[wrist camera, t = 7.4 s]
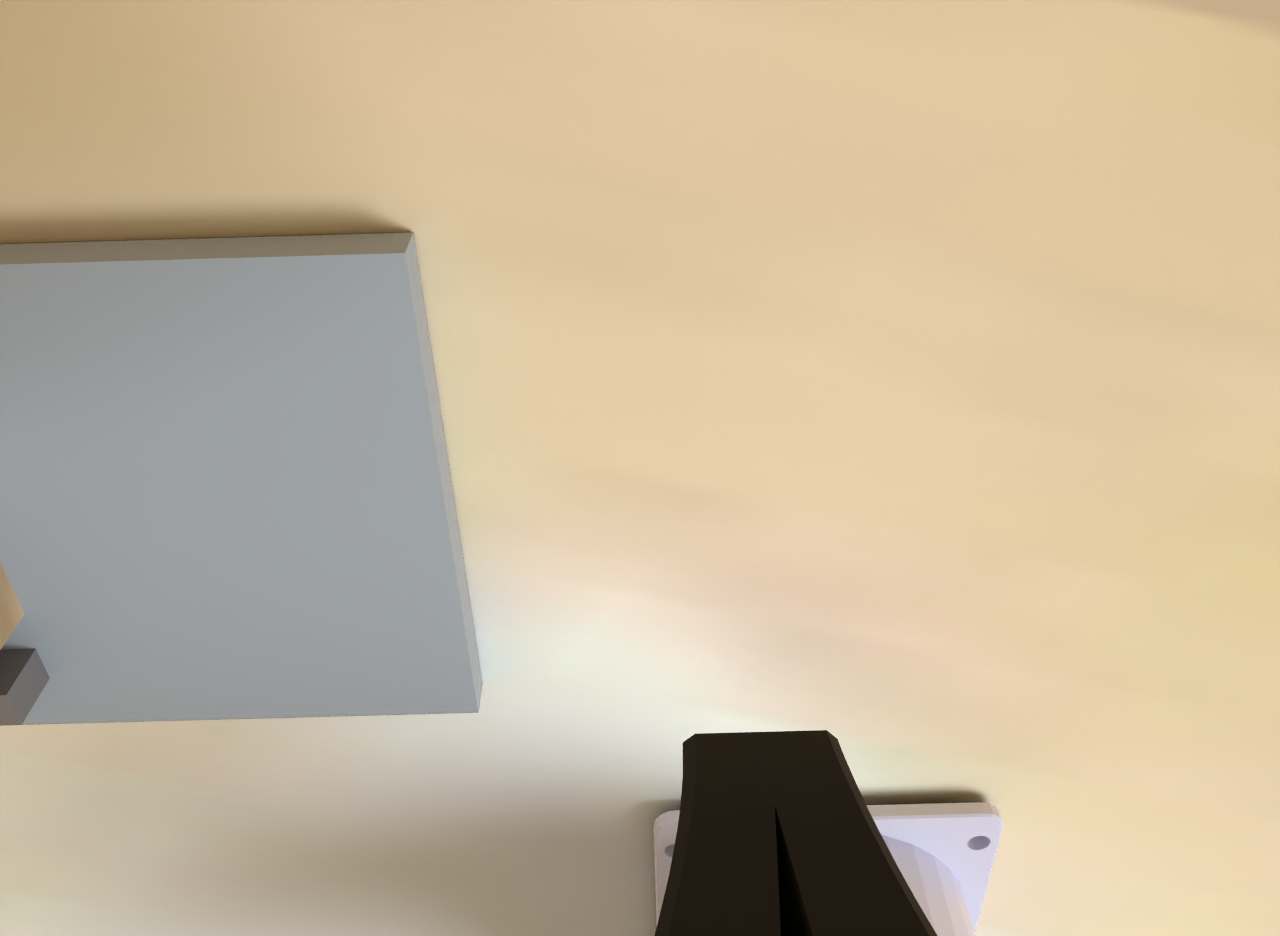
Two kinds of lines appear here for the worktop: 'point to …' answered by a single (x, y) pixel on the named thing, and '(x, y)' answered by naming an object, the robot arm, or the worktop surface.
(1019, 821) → the worktop surface
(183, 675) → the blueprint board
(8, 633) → the maple block
